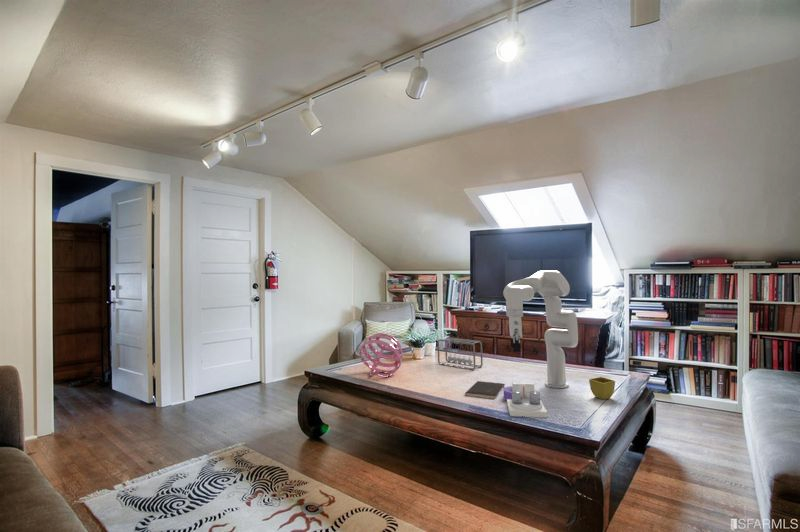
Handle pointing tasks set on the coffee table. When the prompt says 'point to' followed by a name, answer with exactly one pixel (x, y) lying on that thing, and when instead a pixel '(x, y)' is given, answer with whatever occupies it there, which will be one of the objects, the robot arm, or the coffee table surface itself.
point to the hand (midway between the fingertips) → (515, 349)
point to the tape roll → (508, 392)
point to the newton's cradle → (460, 350)
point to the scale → (525, 402)
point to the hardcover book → (485, 389)
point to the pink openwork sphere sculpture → (380, 354)
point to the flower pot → (602, 387)
